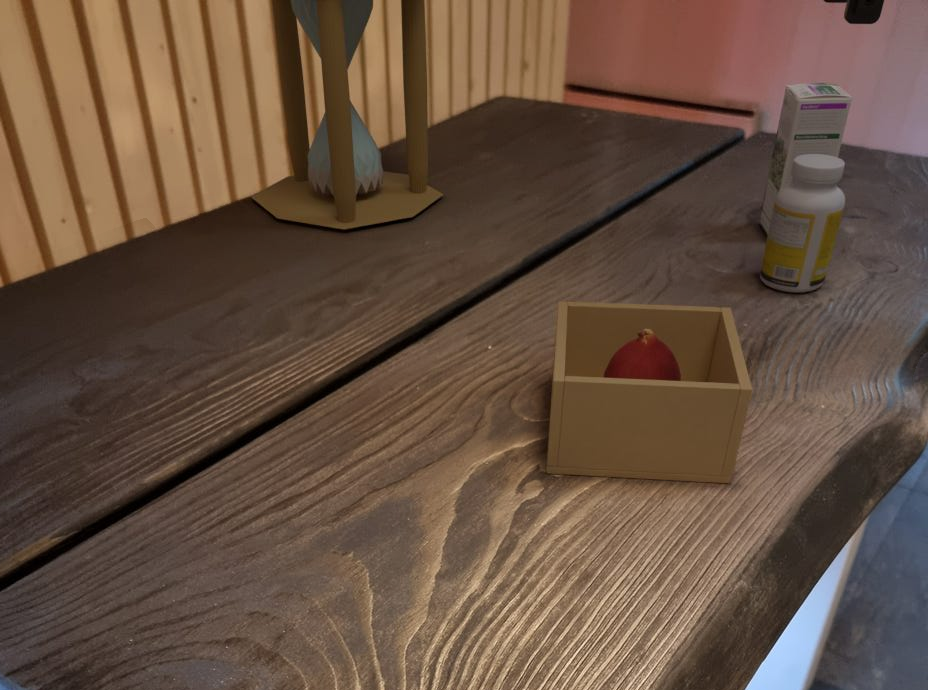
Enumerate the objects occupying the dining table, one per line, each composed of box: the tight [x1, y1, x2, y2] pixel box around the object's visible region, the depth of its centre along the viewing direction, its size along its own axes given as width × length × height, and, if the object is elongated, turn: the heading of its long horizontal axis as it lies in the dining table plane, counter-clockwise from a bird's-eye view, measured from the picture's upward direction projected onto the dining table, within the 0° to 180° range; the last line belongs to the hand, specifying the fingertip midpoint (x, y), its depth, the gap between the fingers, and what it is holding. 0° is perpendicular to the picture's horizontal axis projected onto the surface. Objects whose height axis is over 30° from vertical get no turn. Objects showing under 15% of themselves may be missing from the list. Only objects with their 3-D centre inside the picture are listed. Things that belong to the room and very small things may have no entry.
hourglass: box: [250, 0, 445, 230], centre depth 108 cm, size 24×22×25 cm
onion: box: [603, 329, 681, 381], centre depth 71 cm, size 6×6×8 cm
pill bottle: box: [759, 154, 846, 293], centre depth 92 cm, size 6×6×12 cm
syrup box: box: [758, 82, 853, 237], centre depth 101 cm, size 6×6×14 cm
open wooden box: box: [545, 301, 753, 484], centre depth 71 cm, size 14×14×8 cm
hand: (847, 12), depth 65 cm, fingers open, 8 cm apart
